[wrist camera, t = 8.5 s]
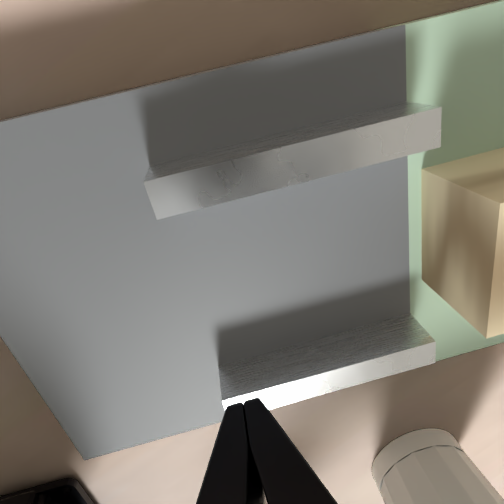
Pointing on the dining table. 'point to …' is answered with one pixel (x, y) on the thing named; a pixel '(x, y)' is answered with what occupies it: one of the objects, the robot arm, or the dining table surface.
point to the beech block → (466, 237)
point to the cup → (430, 472)
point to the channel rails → (290, 173)
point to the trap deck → (227, 226)
